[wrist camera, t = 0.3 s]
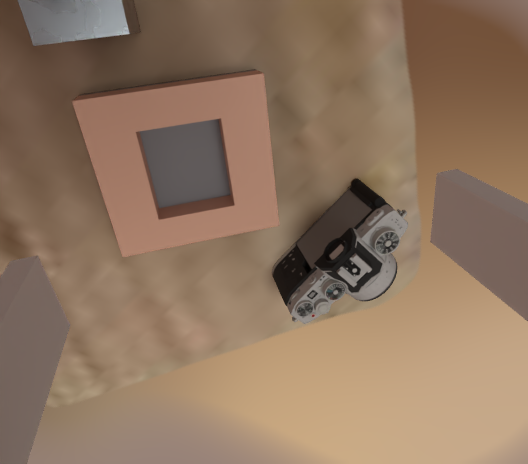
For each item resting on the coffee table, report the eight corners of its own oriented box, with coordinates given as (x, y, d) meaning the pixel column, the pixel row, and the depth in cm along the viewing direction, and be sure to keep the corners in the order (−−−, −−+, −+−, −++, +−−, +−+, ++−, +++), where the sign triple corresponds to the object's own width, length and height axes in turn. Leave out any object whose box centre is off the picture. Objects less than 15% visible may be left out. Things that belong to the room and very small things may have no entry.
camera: (307, 306, 49) (338, 365, 40) (255, 269, 45) (277, 326, 36) (401, 215, 46) (456, 258, 37) (354, 166, 42) (403, 203, 33)
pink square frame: (80, 94, 33) (71, 101, 30) (255, 69, 35) (263, 73, 32) (125, 239, 40) (122, 257, 37) (271, 211, 42) (279, 225, 39)
